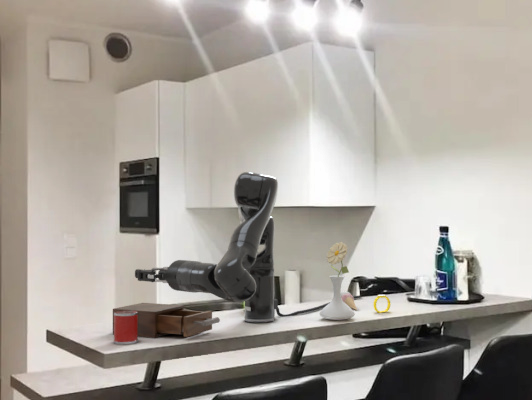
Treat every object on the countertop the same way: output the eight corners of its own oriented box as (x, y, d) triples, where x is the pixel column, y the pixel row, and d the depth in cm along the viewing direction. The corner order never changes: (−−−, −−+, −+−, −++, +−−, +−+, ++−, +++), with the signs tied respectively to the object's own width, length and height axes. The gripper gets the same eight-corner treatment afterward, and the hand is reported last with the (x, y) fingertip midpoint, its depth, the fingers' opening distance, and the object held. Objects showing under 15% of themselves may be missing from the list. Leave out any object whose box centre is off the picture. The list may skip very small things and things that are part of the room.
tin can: (124, 339, 193) (124, 310, 193) (142, 341, 191) (142, 311, 191) (109, 343, 188) (109, 313, 188) (127, 345, 185) (127, 314, 185)
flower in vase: (314, 317, 230) (314, 240, 230) (346, 315, 234) (346, 240, 234) (329, 323, 218) (329, 242, 218) (363, 321, 222) (362, 242, 222)
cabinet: (183, 329, 208) (183, 305, 208) (154, 337, 195) (154, 311, 195) (142, 326, 214) (142, 302, 214) (112, 334, 201) (112, 308, 201)
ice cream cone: (365, 312, 247) (351, 297, 261) (360, 301, 245) (346, 287, 259) (353, 319, 246) (339, 303, 260) (348, 308, 244) (335, 293, 258)
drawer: (224, 330, 201) (224, 311, 201) (200, 338, 190) (200, 318, 190) (173, 326, 209) (173, 308, 209) (146, 333, 197) (146, 314, 197)
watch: (387, 311, 244) (387, 294, 244) (391, 312, 241) (391, 294, 241) (372, 312, 241) (372, 295, 241) (376, 313, 239) (376, 295, 239)
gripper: (212, 259, 176) (173, 256, 187) (165, 262, 166) (126, 259, 177) (212, 289, 176) (173, 284, 187) (165, 294, 166) (126, 289, 177)
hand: (150, 272), depth 182 cm, fingers open, 8 cm apart
